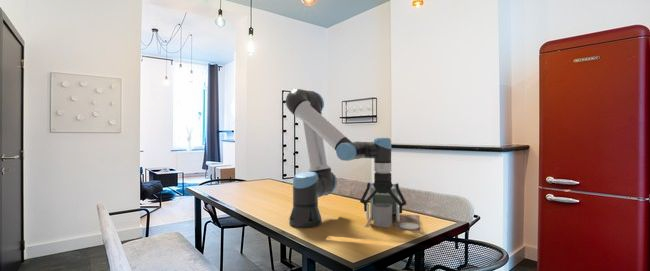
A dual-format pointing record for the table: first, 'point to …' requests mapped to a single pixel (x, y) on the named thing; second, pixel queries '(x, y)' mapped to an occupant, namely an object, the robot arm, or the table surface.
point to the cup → (382, 215)
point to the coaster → (409, 225)
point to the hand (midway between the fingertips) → (383, 219)
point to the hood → (384, 201)
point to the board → (402, 221)
